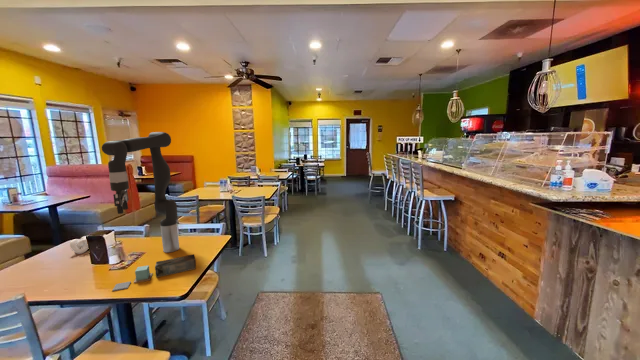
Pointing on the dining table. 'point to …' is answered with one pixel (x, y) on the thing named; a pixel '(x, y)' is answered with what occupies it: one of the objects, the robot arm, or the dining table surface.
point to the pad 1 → (121, 286)
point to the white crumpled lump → (79, 245)
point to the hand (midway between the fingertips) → (123, 211)
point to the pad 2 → (144, 279)
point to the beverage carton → (175, 265)
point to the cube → (142, 273)
